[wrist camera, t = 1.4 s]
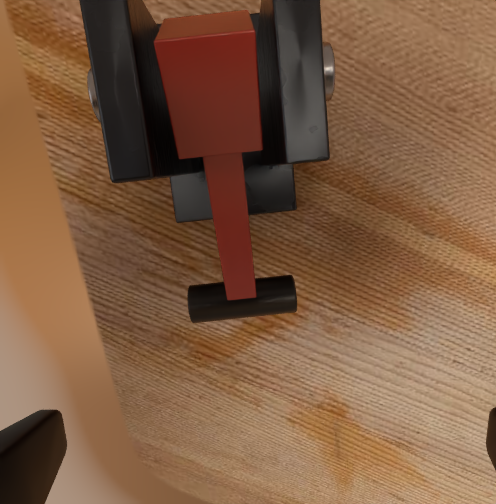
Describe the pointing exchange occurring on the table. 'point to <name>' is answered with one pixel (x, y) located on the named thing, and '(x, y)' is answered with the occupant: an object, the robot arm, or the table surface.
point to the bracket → (157, 116)
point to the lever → (221, 150)
